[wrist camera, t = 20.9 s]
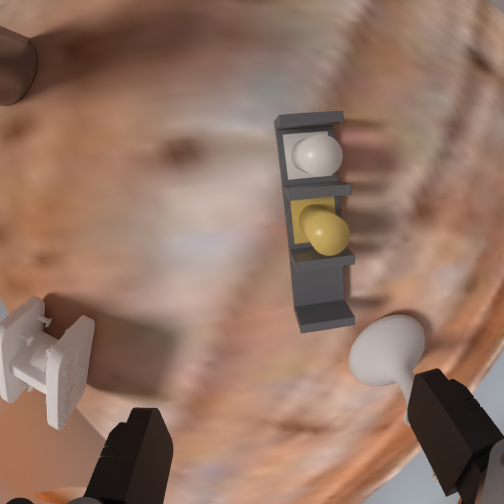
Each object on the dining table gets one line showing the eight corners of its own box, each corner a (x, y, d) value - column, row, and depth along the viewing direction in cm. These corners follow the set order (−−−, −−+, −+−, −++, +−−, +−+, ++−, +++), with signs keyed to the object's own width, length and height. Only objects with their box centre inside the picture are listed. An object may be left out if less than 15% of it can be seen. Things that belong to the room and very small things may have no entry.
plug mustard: (296, 205, 34) (308, 218, 27) (329, 202, 34) (348, 213, 27) (300, 238, 35) (312, 258, 28) (332, 234, 35) (351, 252, 28)
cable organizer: (39, 283, 38) (-9, 321, 26) (102, 314, 39) (63, 364, 28) (36, 360, 42) (0, 403, 30) (90, 389, 43) (62, 439, 32)
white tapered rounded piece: (333, 374, 42) (386, 529, 18) (362, 302, 39) (463, 452, 15) (408, 379, 43) (479, 502, 19) (439, 315, 40) (546, 428, 16)
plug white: (288, 140, 32) (298, 136, 25) (321, 137, 32) (339, 132, 25) (292, 174, 33) (304, 178, 26) (326, 170, 33) (345, 174, 26)
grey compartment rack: (274, 121, 33) (279, 115, 27) (328, 117, 32) (342, 111, 27) (294, 310, 39) (300, 333, 34) (341, 303, 39) (354, 324, 33)
